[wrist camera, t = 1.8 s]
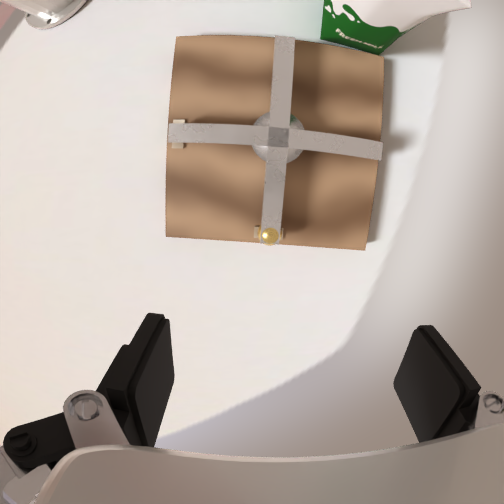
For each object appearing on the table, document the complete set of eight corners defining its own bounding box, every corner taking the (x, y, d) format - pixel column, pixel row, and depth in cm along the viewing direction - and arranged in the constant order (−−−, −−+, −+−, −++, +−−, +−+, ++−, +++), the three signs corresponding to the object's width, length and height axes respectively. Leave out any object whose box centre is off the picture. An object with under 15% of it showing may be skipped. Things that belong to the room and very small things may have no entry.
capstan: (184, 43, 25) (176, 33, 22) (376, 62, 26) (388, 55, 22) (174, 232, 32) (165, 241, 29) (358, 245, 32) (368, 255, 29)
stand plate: (180, 42, 27) (175, 35, 25) (377, 61, 27) (385, 56, 25) (170, 231, 34) (165, 237, 32) (359, 244, 35) (365, 251, 32)
